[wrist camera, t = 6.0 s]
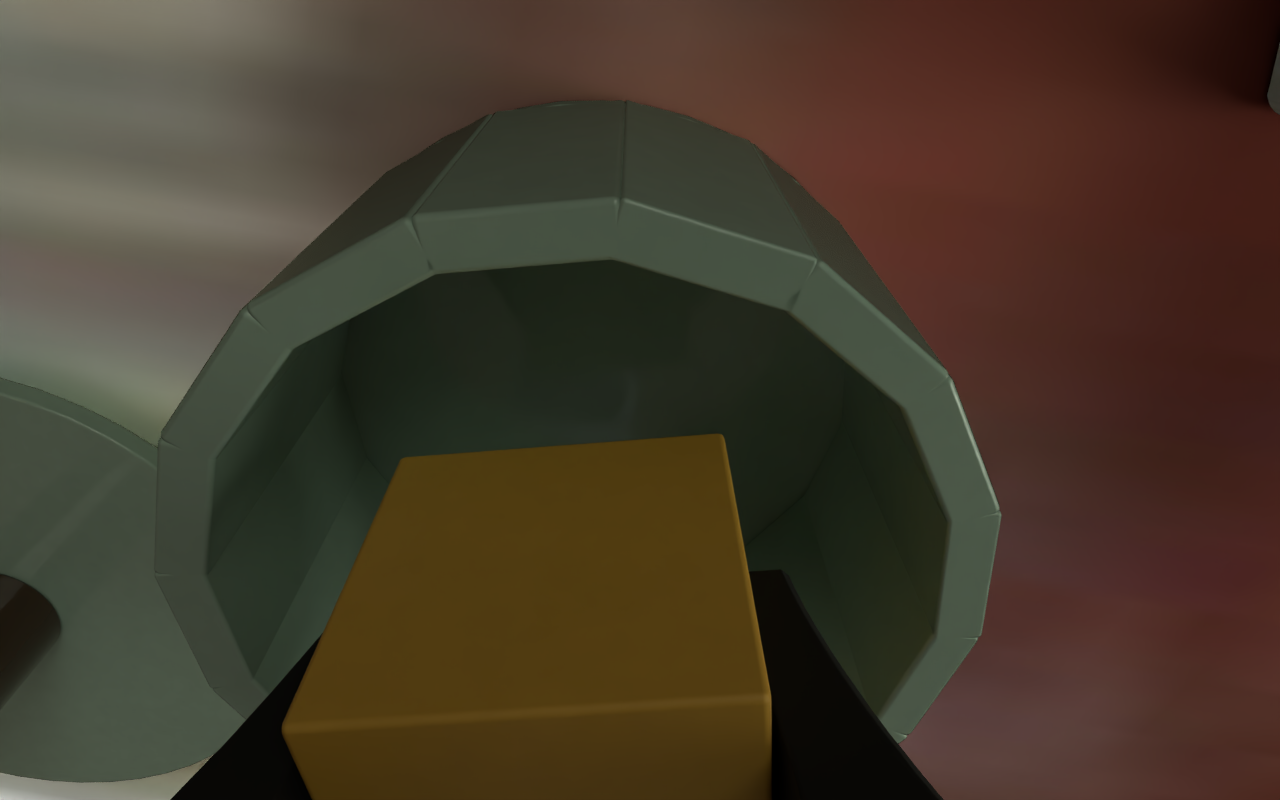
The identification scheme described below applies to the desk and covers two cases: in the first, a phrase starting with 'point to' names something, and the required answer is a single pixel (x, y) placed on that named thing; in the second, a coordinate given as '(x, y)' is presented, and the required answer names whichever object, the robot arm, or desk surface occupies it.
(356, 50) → the desk surface
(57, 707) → the lid
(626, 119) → the bowl
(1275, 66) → the ink box
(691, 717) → the block
